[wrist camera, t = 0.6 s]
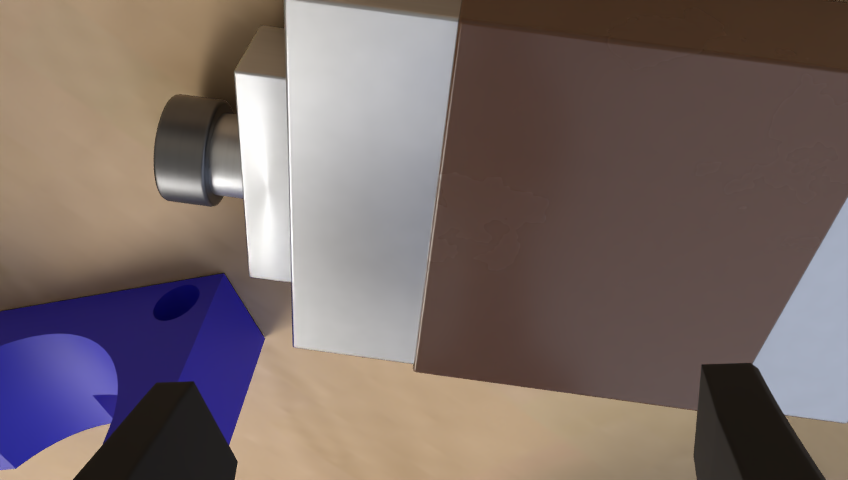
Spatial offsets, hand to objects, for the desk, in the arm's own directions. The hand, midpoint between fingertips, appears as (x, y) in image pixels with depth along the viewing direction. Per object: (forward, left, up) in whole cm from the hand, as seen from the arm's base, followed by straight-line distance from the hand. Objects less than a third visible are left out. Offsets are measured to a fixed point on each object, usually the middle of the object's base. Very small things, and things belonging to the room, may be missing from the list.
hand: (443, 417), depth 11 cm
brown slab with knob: (-2, -2, -10) cm, 10 cm away
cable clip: (-12, +11, -10) cm, 19 cm away
